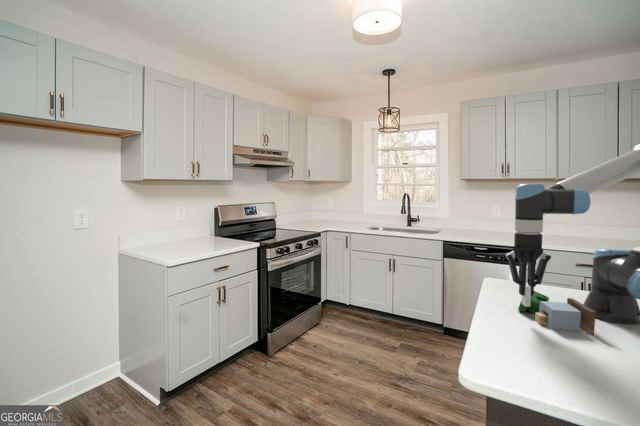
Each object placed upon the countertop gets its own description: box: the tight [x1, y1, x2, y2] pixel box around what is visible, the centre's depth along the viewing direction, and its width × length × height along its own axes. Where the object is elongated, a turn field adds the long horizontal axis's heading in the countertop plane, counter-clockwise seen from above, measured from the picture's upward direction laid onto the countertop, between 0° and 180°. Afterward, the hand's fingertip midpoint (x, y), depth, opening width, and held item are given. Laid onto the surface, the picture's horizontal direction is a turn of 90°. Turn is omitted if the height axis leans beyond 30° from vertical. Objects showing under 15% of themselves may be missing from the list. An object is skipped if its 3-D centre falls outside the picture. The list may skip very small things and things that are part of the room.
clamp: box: [517, 290, 550, 313], centre depth 119 cm, size 12×6×9 cm
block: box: [539, 301, 581, 332], centre depth 107 cm, size 8×8×6 cm
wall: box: [566, 297, 596, 335], centre depth 106 cm, size 2×12×7 cm, turn 171°
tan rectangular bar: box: [534, 312, 549, 326], centre depth 108 cm, size 7×3×3 cm, turn 80°
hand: (525, 304), depth 108 cm, fingers closed
